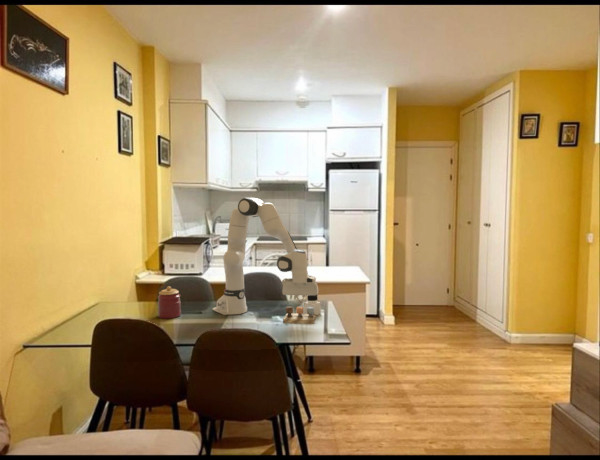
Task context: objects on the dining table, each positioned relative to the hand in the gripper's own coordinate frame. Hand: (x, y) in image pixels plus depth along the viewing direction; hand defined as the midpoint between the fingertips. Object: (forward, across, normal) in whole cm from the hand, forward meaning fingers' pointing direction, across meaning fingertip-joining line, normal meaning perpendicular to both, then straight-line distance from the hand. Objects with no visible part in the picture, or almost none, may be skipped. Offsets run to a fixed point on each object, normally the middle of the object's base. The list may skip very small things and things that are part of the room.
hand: (300, 302), depth 223 cm
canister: (+9, -78, -2) cm, 79 cm away
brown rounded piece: (+8, -7, 0) cm, 10 cm away
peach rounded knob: (+8, -1, 0) cm, 8 cm away
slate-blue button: (+8, +5, 0) cm, 10 cm away
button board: (+10, -1, 0) cm, 10 cm away
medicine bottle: (+10, +5, +12) cm, 17 cm away
